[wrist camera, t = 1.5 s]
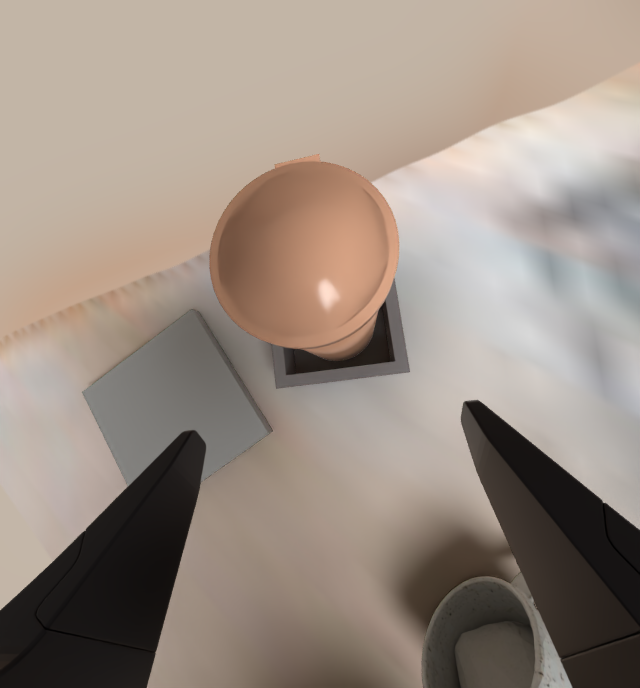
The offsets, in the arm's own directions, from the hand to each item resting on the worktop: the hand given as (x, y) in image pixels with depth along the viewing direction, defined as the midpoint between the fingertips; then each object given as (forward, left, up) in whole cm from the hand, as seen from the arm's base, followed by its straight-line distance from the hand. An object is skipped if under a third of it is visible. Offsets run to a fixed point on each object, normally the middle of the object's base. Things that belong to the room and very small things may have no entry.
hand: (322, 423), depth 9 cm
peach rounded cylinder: (+5, -3, -12) cm, 14 cm away
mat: (+7, +12, -12) cm, 19 cm away
